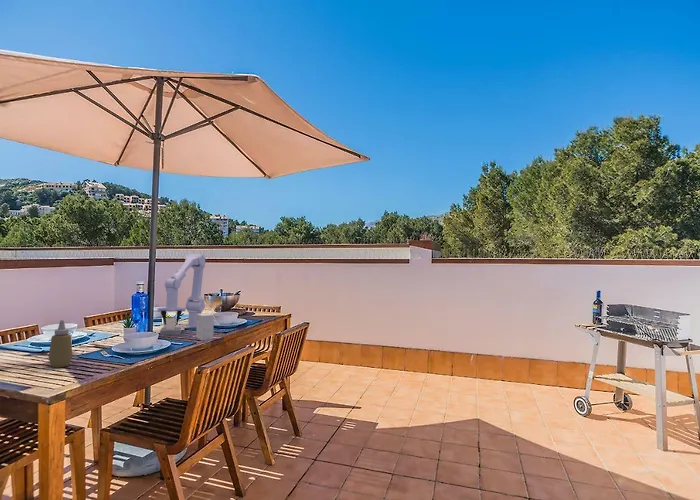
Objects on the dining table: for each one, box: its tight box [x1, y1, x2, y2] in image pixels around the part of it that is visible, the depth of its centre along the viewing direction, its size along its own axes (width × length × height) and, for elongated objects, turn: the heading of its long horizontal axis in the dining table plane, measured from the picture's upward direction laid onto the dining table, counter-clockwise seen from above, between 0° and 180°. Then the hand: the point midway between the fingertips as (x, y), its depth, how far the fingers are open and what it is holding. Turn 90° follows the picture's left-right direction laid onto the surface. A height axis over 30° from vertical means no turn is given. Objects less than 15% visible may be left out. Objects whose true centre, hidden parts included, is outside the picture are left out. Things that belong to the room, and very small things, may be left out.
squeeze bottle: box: [48, 319, 73, 369], centre depth 178 cm, size 8×8×18 cm
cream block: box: [165, 316, 177, 330], centre depth 251 cm, size 4×4×6 cm
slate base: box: [159, 326, 182, 336], centre depth 251 cm, size 10×10×2 cm
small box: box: [195, 312, 215, 341], centre depth 240 cm, size 8×6×13 cm
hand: (171, 324), depth 251 cm, fingers open, 5 cm apart
